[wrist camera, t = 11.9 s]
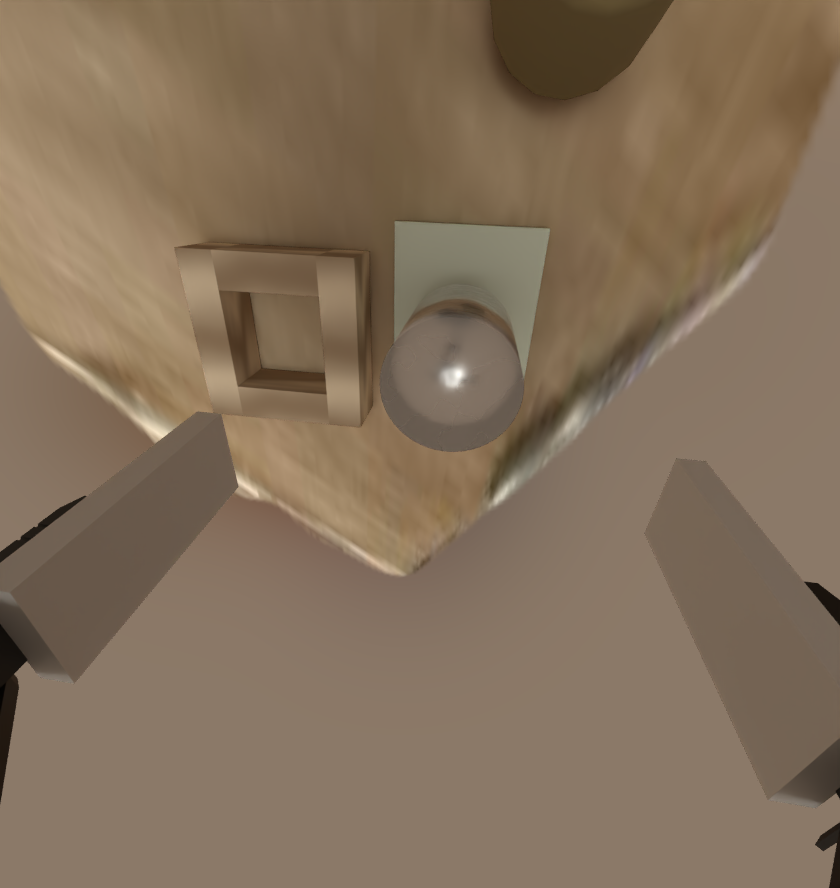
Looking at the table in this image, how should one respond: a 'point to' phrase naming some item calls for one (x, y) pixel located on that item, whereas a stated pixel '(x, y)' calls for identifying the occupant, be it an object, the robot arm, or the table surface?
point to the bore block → (234, 337)
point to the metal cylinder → (454, 371)
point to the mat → (471, 268)
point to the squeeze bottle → (572, 40)
